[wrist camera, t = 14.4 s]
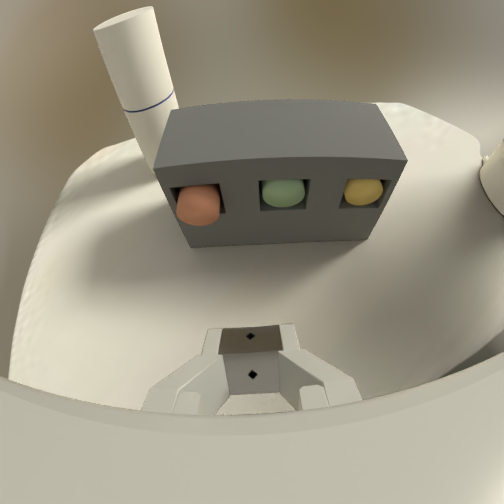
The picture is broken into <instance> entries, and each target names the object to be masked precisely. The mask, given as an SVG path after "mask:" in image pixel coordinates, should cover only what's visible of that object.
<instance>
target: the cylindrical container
mask: <svg viewBox="0 0 504 504" xmlns="http://www.w3.org/2000/svg"><path fill="white" fill-rule="evenodd" d="M93 31H94V34H95V37H96V40H97V43H98V45H99V48H100V51H101V54H102V57H103V59H104V62H105V65H106V67H107V70H108V72H109V75H110V77H111V80H112V82H113V85H114V88H115V90H116V93H117V95H118V98H119V100H120V102H121V105H122V107H123V110H124V112H125V114H126V116H127V119H128V121H129V124H130V126H131V128H132V131H133V133H134V135H135V137H136V140H137V142H138V144H139V146H140V149H141V151H142V153H143V155H144V157H145V160H146V162H147V164H148V166H149V168H150V170H151V172H152V173H153V174H154V175H155V173H154V170H153V166H154V162H155V159H156V155H157V152H158V148H159V145H160V142H161V139H162V135H163V132H164V129H165V126H166V123H167V120H168V117H169V114H170V111H171V110H173V109H179V107H178V103H177V100H176V96H175V92H174V89H173V85H172V81H171V77H170V74H169V70H168V66H167V62H166V58H165V55H164V51H163V47H162V43H161V39H160V35H159V30H158V26H157V22H156V18H155V14H154V10H153V7H151V6H149V7H144V8H139V9H136V10H132V11H129V12H126V13H124V14H121V15H119V16H116V17H114V18H112V19H109V20H107V21H105V22H103V23H102V24H100V25H98V26H97V27H95V28H94V29H93ZM155 176H156V175H155Z"/></svg>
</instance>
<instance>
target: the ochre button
mask: <svg viewBox="0 0 504 504" xmlns="http://www.w3.org/2000/svg"><path fill="white" fill-rule="evenodd" d="M382 193H383V187H382V184H381V181H380V179H347V183H346V186H345V189H344V195H345V199H346V201H347V202H348V203H350V204H352V205H367V204H370V203H372V202H374V201H376V200H377V199H378V198H379V197H380V196H381V195H382Z"/></svg>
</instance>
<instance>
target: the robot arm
mask: <svg viewBox="0 0 504 504" xmlns="http://www.w3.org/2000/svg"><path fill="white" fill-rule="evenodd" d="M480 180H481V183H482V186H483V188H484V190H485V192H486V194H487V196H488V197H489V199H490V200H491V202H492V203H493V204H494V206H495V207H496V208H497V209H498V211H499V212H500V213H501V214H502V215H503V216H504V139H503V140H502V141H501V142H500V143H499V145H498V146H497V147H496V149H495V150H494V151H493V153H492V154H491V155H490V156H485V157H484V158H483V167H482V168H481V169H480ZM277 392H280V394H281V395H282V396H283V397H284V398H285V399H286V400H287V401H288V402H289V403H290V404H291V405H292V406H293V407H294V409H295V410H296V411H290V412H279V413H266V414H248V415H215V414H216V412H217V411H218V410H219V409H220V408H221V407H222V405H223V404H224V403H225V402H226V401H227V399H228V398H229V397H230V395H241V394H256V393H277ZM0 504H504V352H502V353H500V354H498V355H496V356H494V357H492V358H490V359H487V360H485V361H483V362H481V363H478V364H476V365H474V366H472V367H469V368H467V369H464V370H462V371H459V372H457V373H454V374H452V375H449V376H446V377H443V378H440V379H437V380H434V381H431V382H428V383H425V384H422V385H419V386H416V387H412V388H409V389H406V390H402V391H398V392H395V393H391V394H387V395H383V396H379V397H375V398H370V399H366V400H362V397H361V395H360V392H359V390H358V388H357V385H356V383H355V381H354V378H352V377H351V376H349V375H347V374H345V373H344V372H342V371H340V370H339V369H337V368H335V367H334V366H332V365H330V364H329V363H327V362H325V361H324V360H322V359H320V358H319V357H317V356H315V355H314V354H312V353H311V352H309V351H307V350H306V349H300V346H299V342H298V338H297V334H296V330H295V327H294V324H293V323H289V324H281V325H272V326H262V327H242V328H223V329H222V328H213V329H208V330H207V334H206V338H205V342H204V346H203V350H202V354H201V355H197V356H195V357H194V358H193V359H191V360H190V361H188V362H187V363H186V364H184V365H183V366H181V367H180V368H179V369H177V370H176V371H174V372H173V373H171V374H170V375H169V376H167V377H166V378H164V379H163V380H161V381H160V382H158V383H157V384H156V385H154V386H153V387H151V388H150V389H149V392H148V394H147V396H146V399H145V401H144V404H143V406H142V409H141V410H133V409H125V408H119V407H112V406H106V405H101V404H95V403H90V402H86V401H81V400H76V399H72V398H68V397H64V396H60V395H56V394H52V393H49V392H45V391H42V390H38V389H35V388H32V387H29V386H26V385H23V384H20V383H17V382H14V381H11V380H8V379H6V378H3V377H1V376H0Z"/></svg>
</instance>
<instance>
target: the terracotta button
mask: <svg viewBox="0 0 504 504" xmlns="http://www.w3.org/2000/svg"><path fill="white" fill-rule="evenodd" d="M220 191H221V189H220V184H219V183H216V184H204V185H193V186H183V187H180V190H179V196H178V203H177V209H176V214H177V217H178V218H179V219H180V220H181V221H183V222H185V223H187V224H190V225H195V226H204V225H209V224H212V223H214V222H215V221H216V220H217V219H218V218H219V210H220Z"/></svg>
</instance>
